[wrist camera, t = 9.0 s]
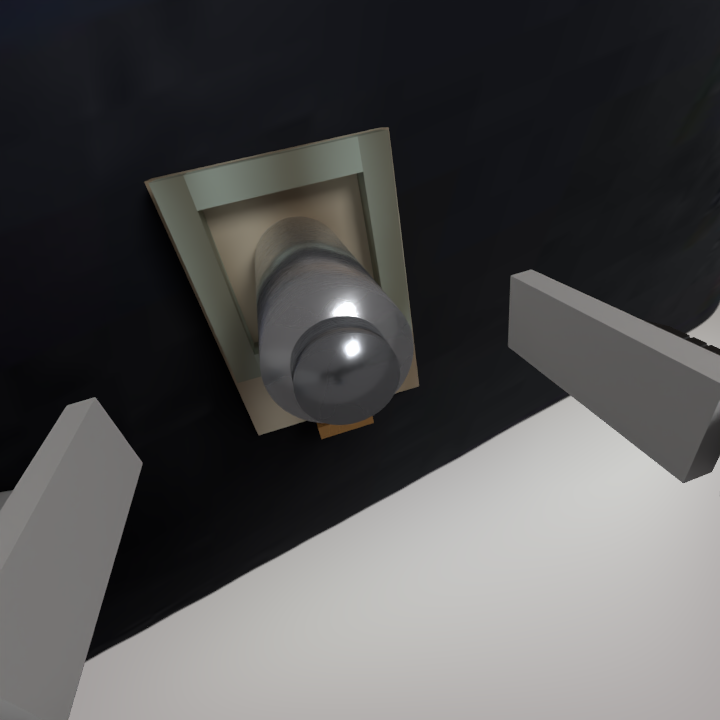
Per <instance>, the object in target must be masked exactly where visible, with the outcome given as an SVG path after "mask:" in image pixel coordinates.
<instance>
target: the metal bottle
mask: <svg viewBox="0 0 720 720" xmlns="http://www.w3.org/2000/svg"><path fill="white" fill-rule="evenodd" d="M254 265H255V284H256V303H257V321H258V340H259V359H260V371H261V377H262V380H263V383H264V386H265V388H266V390H267V392H268V393H269V395H270V396H271V398H272V399H273V400H274V401H275V402H276V403H277V404H278V405H279V406H280V407H281V408H282V409H284V410H285V411H286V412H288V413H290V414H292V415H293V416H296V417H298V418H300V419H303V420H307V421H311V422H317V423H326V424H331V425H347V424H353V423H357V422H360V421H363V420H365V419H367V418H369V417H371V416H373V415H374V414H376V413H377V412H379V411H380V410H381V409H382V408H383V407H385V406H386V405H387V403H388V402H389V401H390V400H391V398H392V397H393V395H394V394H395V393H396V392H397V391H398V389H399V388H400V387H401V385H402V384H403V382H404V380H405V379H406V377H407V375H408V372H409V370H410V367H411V364H412V360H413V352H414V342H413V336H412V331H411V328H410V326H409V323H408V321H407V320H406V318H405V316H404V315H403V313H402V312H401V311H400V310H399V308H398V307H397V306H396V305H395V304H394V302H393V301H392V300H391V299H390V298H389V297H388V295H387V294H386V293H385V292H384V291H383V290H382V288H381V287H380V286H379V285H378V284H377V283H376V281H375V280H374V279H373V278H372V277H371V276H370V274H369V273H368V272H367V271H366V270H365V269H364V267H363V266H362V265H361V264H360V263H359V262H358V260H357V259H356V258H355V257H354V256H353V255H352V253H351V252H350V251H349V250H348V249H347V248H346V246H345V245H344V244H343V243H342V242H341V240H340V239H339V238H338V237H337V236H336V235H335V233H334V232H333V231H332V230H331V229H330V228H329V227H327V226H326V225H325V224H323V223H322V222H320V221H318V220H315V219H313V218H309V217H301V216H298V217H289V218H286V219H282V220H280V221H278V222H276V223H275V224H273V225H272V226H270V227H269V228H268V229H267V230H266V231H265V232H264V234H263V235H262V237H261V238H260V240H259V242H258V244H257V247H256V250H255V257H254Z"/></svg>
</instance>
